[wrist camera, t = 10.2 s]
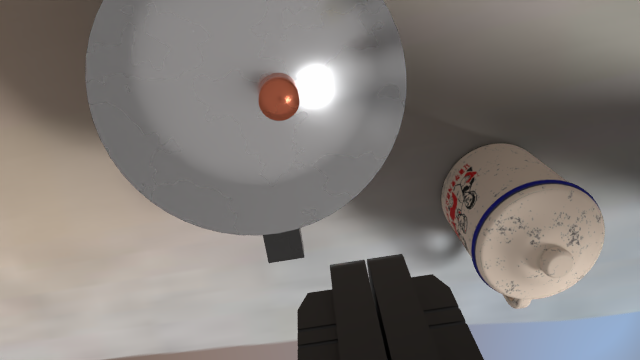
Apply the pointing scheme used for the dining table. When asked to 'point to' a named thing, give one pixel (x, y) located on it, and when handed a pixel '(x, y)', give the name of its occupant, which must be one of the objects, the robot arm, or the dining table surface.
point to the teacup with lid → (521, 222)
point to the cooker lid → (246, 105)
